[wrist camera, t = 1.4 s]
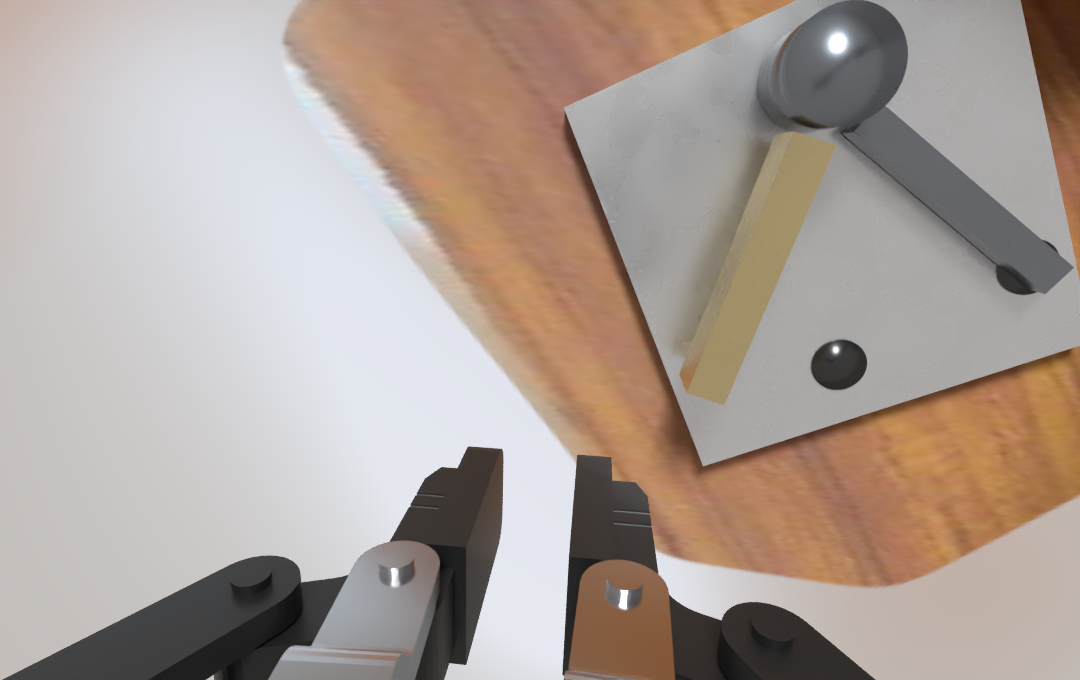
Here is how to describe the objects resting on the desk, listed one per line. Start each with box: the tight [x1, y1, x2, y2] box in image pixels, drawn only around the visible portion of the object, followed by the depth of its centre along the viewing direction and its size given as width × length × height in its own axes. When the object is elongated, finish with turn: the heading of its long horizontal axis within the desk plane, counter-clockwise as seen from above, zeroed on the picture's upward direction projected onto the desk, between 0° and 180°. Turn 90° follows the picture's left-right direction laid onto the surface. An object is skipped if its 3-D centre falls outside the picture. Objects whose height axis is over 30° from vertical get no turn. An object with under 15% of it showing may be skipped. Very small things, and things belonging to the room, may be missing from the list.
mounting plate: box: [564, 0, 1080, 466], centre depth 25 cm, size 18×18×5 cm
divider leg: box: [679, 132, 836, 405], centre depth 25 cm, size 10×2×4 cm, turn 163°
